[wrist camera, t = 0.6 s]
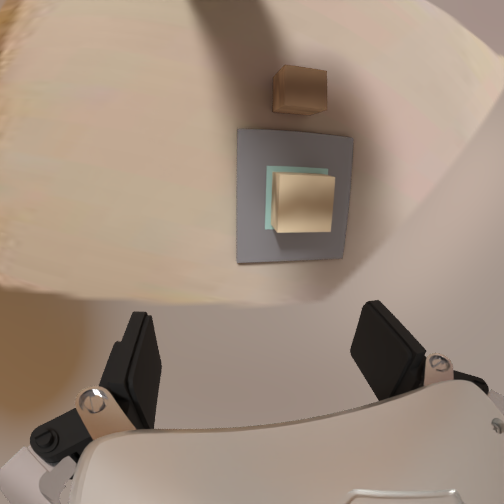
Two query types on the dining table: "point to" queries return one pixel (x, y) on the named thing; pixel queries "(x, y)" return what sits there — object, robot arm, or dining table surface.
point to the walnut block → (300, 90)
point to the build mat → (260, 192)
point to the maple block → (302, 202)
